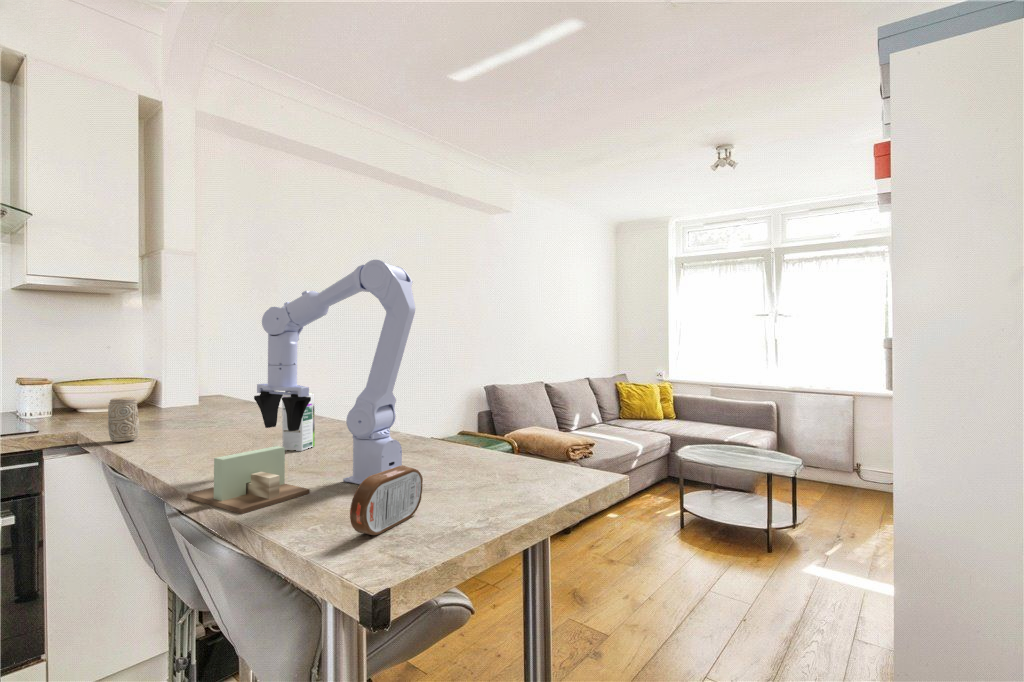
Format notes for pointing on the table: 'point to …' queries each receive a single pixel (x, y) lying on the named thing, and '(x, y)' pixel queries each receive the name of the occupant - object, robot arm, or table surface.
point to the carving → (123, 419)
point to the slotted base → (253, 494)
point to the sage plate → (245, 470)
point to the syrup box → (300, 429)
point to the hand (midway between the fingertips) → (281, 428)
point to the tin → (386, 500)
